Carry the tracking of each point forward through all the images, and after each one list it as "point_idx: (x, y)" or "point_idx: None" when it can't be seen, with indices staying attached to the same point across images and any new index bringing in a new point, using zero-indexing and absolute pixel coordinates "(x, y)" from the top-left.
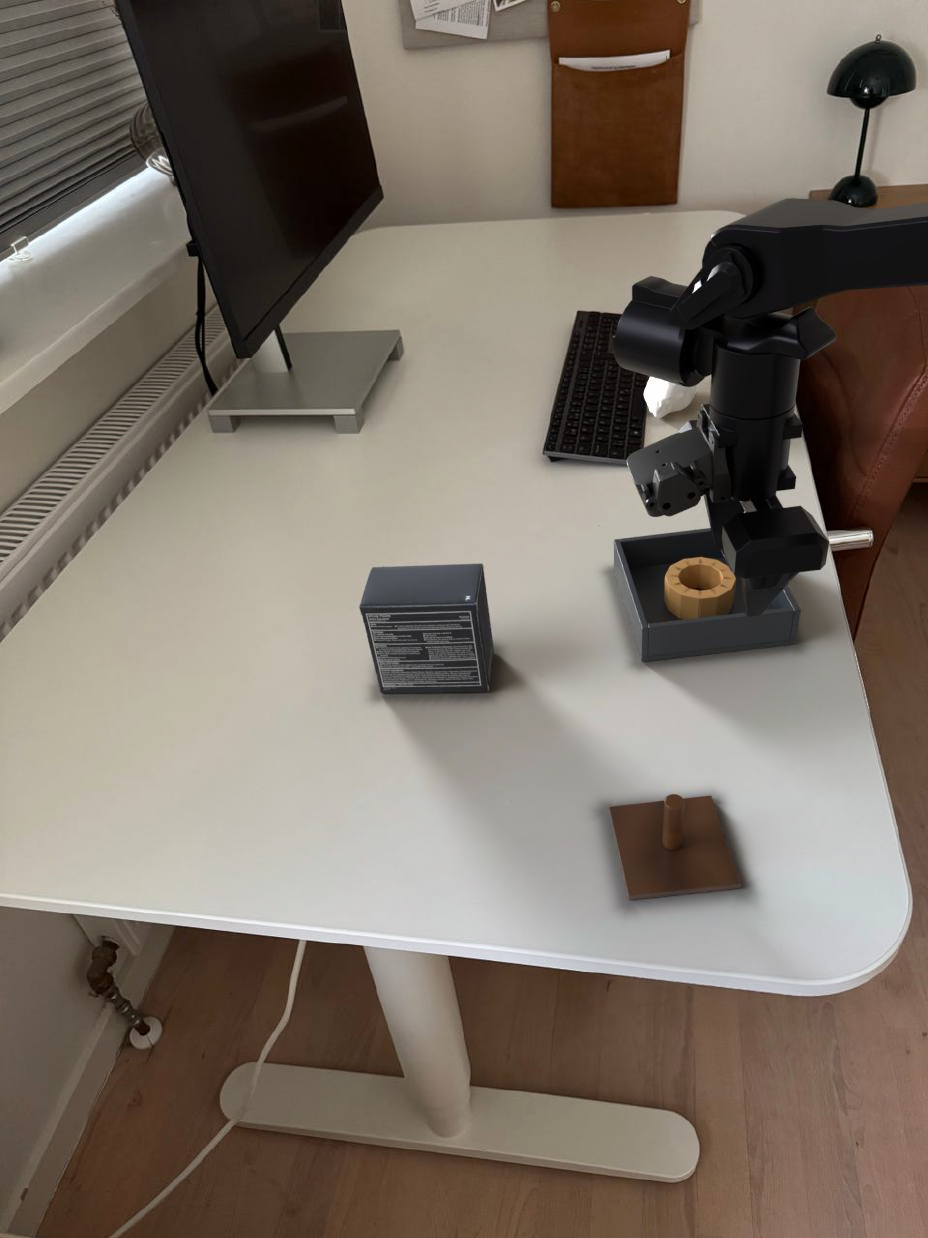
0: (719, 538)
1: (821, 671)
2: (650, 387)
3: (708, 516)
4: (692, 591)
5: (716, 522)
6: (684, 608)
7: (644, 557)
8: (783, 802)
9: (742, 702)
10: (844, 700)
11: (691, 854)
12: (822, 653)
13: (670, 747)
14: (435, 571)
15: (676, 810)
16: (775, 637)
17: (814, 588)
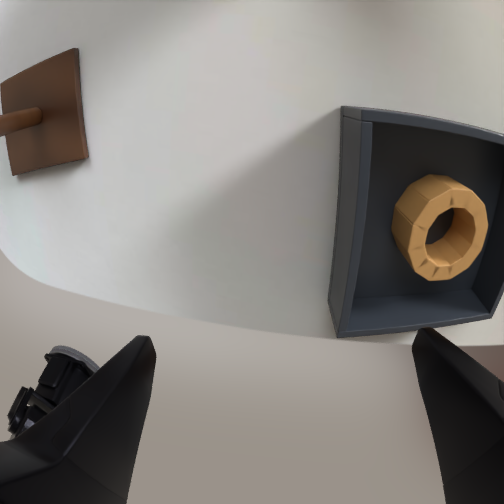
0: (429, 353)
1: (278, 312)
2: None
3: (482, 373)
4: (430, 218)
5: (454, 384)
6: (414, 196)
7: None
8: (94, 227)
9: (238, 221)
10: (231, 318)
11: (28, 134)
12: (306, 319)
13: (163, 116)
14: None
15: None
16: (333, 289)
17: (401, 333)
